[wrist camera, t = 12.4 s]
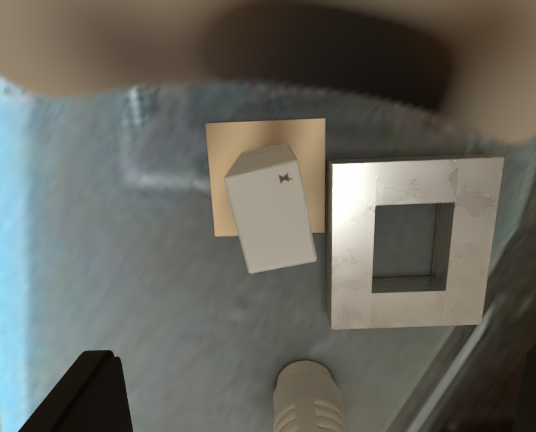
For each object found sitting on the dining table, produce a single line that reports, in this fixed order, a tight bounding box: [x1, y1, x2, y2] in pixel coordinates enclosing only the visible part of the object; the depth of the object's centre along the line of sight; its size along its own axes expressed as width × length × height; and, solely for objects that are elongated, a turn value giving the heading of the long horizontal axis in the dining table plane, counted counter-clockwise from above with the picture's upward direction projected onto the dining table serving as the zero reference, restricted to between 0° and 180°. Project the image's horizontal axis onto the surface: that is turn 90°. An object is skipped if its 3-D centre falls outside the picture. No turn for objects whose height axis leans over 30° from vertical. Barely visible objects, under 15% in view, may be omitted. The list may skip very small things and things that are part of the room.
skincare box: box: [224, 142, 317, 274], centre depth 25 cm, size 6×4×12 cm
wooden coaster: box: [205, 118, 325, 237], centre depth 31 cm, size 10×10×1 cm
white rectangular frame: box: [326, 153, 504, 329], centre depth 31 cm, size 14×15×3 cm
